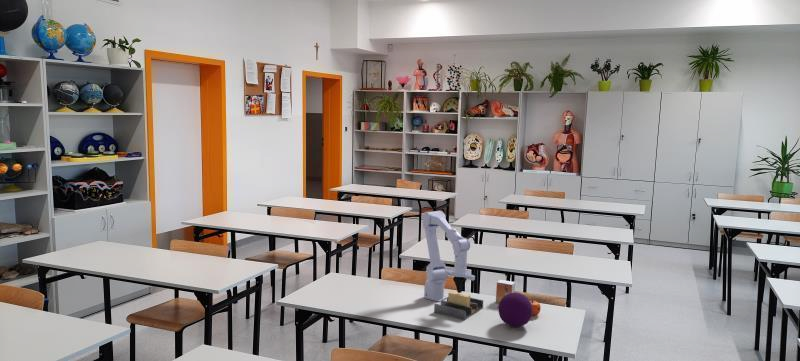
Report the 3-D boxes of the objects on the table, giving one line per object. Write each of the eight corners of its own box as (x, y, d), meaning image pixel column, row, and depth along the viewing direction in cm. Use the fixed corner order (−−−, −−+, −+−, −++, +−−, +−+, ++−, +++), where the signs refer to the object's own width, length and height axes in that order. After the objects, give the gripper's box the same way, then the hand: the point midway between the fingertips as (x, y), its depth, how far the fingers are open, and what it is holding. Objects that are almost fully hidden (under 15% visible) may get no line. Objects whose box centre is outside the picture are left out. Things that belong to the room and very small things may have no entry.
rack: (434, 312, 269) (434, 304, 269) (453, 301, 285) (453, 293, 284) (464, 320, 260) (464, 311, 260) (482, 308, 276) (483, 300, 276)
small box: (495, 302, 285) (496, 282, 283) (498, 299, 290) (499, 279, 288) (511, 305, 281) (512, 284, 280) (514, 302, 286) (515, 281, 285)
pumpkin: (522, 316, 267) (523, 301, 266) (524, 310, 274) (525, 295, 273) (539, 318, 264) (540, 303, 263) (540, 312, 272) (541, 297, 271)
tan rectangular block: (448, 306, 274) (448, 292, 273) (451, 305, 277) (451, 291, 276) (466, 311, 269) (467, 297, 268) (469, 309, 271) (470, 295, 270)
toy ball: (532, 321, 260) (533, 289, 258) (531, 334, 246) (533, 300, 244) (498, 318, 264) (500, 286, 262) (496, 330, 250) (497, 297, 248)
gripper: (442, 263, 270) (442, 291, 272) (470, 268, 262) (469, 297, 264) (450, 260, 276) (449, 287, 278) (477, 265, 268) (476, 293, 270)
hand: (459, 292), depth 272 cm, fingers closed
